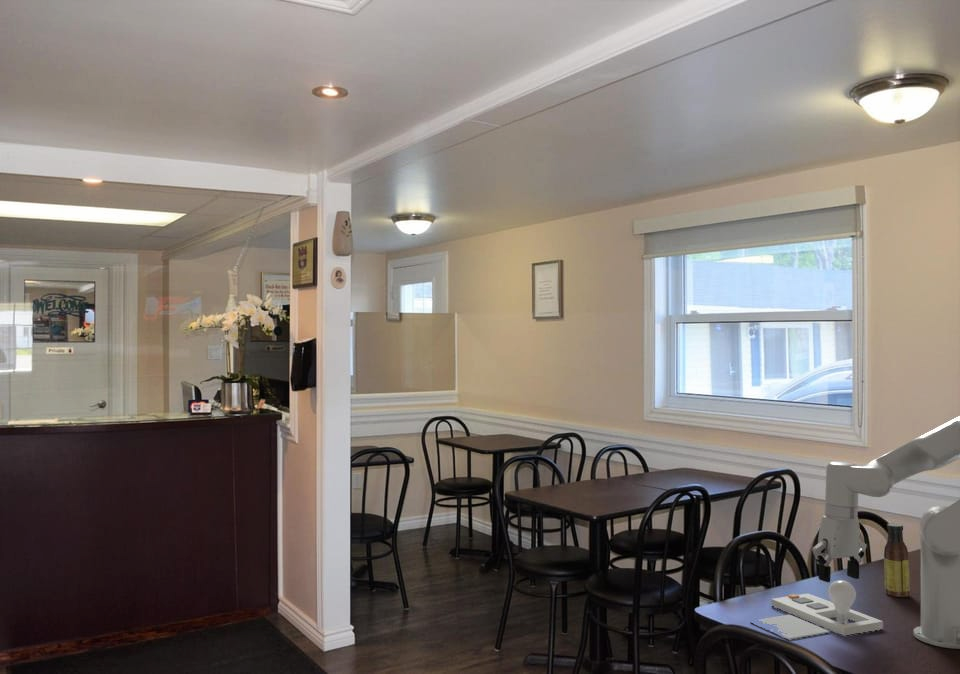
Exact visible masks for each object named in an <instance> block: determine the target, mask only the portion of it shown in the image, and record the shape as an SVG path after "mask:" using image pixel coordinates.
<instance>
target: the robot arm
mask: <svg viewBox="0 0 960 674" xmlns="http://www.w3.org/2000/svg"><path fill="white" fill-rule="evenodd" d="M958 460H960V415H959V416H957V417H955V418H953V419H951V420H949V421H947V422H945V423H943V424H940V425H939V426H938V427H935V428H934V429H933V430H930V431H928V432H926V433H923V434H922V435H921V436H920V435H919V436H918V437H916V438H914V439H912V440H911V441H909V442H907V443H905V444H903V445H901V446H899V447H896V448H894V449H893V450H891V451H889V452H887V453H885V454H883V455H881V456H879V457H877V458H875V459H873V460H871V461H870V462H868V463H867V464H865V465H864V466H858V465H857V464H855V463H853V462H852V463H851V462H847V461H831V462H829V463H828V464H827V465H826V469H825V471H826V473H825V474H826V475H825V497H824V499H825V500H824V515H822V517H821V521H820V524H819V531H818V539H817V544H815V546H813V547H812V549H811V550H812V553H813V557H814V559H815V560H816V563H817V564H818V580H820V581H823V582H825V583H831V573H832V567H831V566H830V564H831V563H832V561H833V559H844V558H848V559H847V566H846V576H848V577H850V578H852V579H856V580H859V579H860V564H861V563H862V559H863V557H864V555H865V552H866V549H867V547H868V544H867V543H865V542H864V541H862V540H861V529H860V527H861V526H860V521H859V517H858V514H859V513H858V511H859V495H864V496H868V497H871V498H881V497H885V496H887V495H888V494H890V493H891V492H892V489H893V486H894V485H896V484H899V482H901V481H904V480H906V479H907V478H908V479H909V478H910V477H913V476H915V475H917V474H920V473H923V472H926V471H927V472H928V471H934V470H939V469H942V468H944V467H947V466H948V465H950V464H952V463H954V462H956V461H958ZM919 538H920V539H919V540H920V626H916V627H914V628H913V633H912V634H913V636H914V637H915V638H916V639H917V640H919V641H921V642H923V643H926V644H929V645H931V646H935V647H940V648H945V649H946V648H947V649H954V650H960V499H958V500H956V501H955V502H953V503H952V504H951V505H949V506H946V505H936V506H932V507H929V508H928V509H927V510H926V511H925V512H924V513H923V514H922V515H921V518H920V523H919ZM825 558H826V559H825Z"/></svg>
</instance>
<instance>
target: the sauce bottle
mask: <svg viewBox="0 0 960 674" xmlns="http://www.w3.org/2000/svg"><path fill="white" fill-rule="evenodd" d="M886 529H887V541H886V544H885V545H884V550H883V552H884V553H883V561H884V562H883V563H884V565H883V566H884V567H883V568H884V569H883V570H884V588H885V593H886V594H887V595H889V596H890V597H894V598H908V597H909V596H910V594H911V593H910V591H911V584H910V560H909V551H908V546H907V545H906V544H905V542H904V538H903V537H904V536H903V535H904V534H903V531H904V525H903V524H900V523H894V522H893V523H892V522H891V523H890V522H889V523H887V524H886Z"/></svg>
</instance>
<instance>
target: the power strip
mask: <svg viewBox="0 0 960 674" xmlns="http://www.w3.org/2000/svg"><path fill="white" fill-rule="evenodd" d="M770 600H771V604H770V605H773V606H776V607H777V608H780V609H781V610H784V611H786V612H789V613H791V614H794V615H796V616H798V617H800V618H799V619H801V618H803V619H805V620H808V621H810V622H813V623H815V624H817V625H816V626H818V625H819V626H818V627H820V626H822V627H825V628H827V629H829V630H828V631H830V630H832V631H834V632H837V633H839V634H842V635H850V634H855V633H861V634H864V633H863V632H866V633H869V632H868V631H872V632H875V630H877V631H881V630H880V629H884V621H883V620H880V619H878V618H875V617H872V616H870V615H867V614H865V613H862V612H860V611H857V610H854V609H851V608H850V610H849V613H848V620H849V619H850V620H849V621H851V620H853V621H852V622H850V623H849V622H848V623H847V624H841V623H839V622H837V621H836V620H833V619H832V618H830V617H835V618H836V617H837V616H836V615H837V614H836V610H835V606H834V604H833V602H832V601H830V600H827V599H825V598H822V597H819V596H816V595H813V594H811V593H801V594H796V593H793V594H788V595H787V596H781V597H775V598H771V599H770ZM777 608H776V609H777ZM781 610H780V611H781ZM784 611H783V612H784ZM786 612H785V613H786ZM789 613H788V614H789ZM791 614H790V615H791ZM796 616H795V617H796ZM798 617H797V618H798ZM803 619H802V620H803ZM805 620H804V621H805ZM808 621H807V622H808ZM854 621H855V622H854ZM810 622H809V623H810ZM813 623H812V624H813ZM815 624H814V625H815ZM822 627H821V628H822ZM825 628H824V629H825ZM827 629H826V630H827ZM832 631H831V632H832ZM834 632H833V633H834ZM837 633H836V634H837ZM839 634H838V635H839ZM842 635H841V636H842ZM855 635H856V634H855ZM850 636H851V635H850Z"/></svg>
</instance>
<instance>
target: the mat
mask: <svg viewBox="0 0 960 674" xmlns="http://www.w3.org/2000/svg"><path fill="white" fill-rule="evenodd" d="M758 620H759V621H762V622H763V623H764V624H765V622H766V623H767V624H770V625H771V624H777V625H774V626H777V628H779V629H778V632H779V631H781V632H783V633H781V634H782V636H783V637H786V638H788V639H795V640H798V639H797V638H800V639H802V638H801V637H806V636H811V637H814V636H813V635H817V636H819V635H818V634H823V633H828V632H830V633H831V631H830V630H827V629H825V628H822V627H820V626H818V625H815V624H813V623H810V622H808V621H805V620H803V619H801V618H798V617H796V616H793V615H791V614H789V613H788V614H785V615H784V614H783V615H779V616H772V617H766V618H765V617H764V618H760V619H758ZM771 631H773V629H771ZM773 632H774V631H773ZM785 633H787V634H785ZM828 634H829V633H828ZM823 635H824V634H823ZM806 638H807V637H806Z"/></svg>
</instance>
